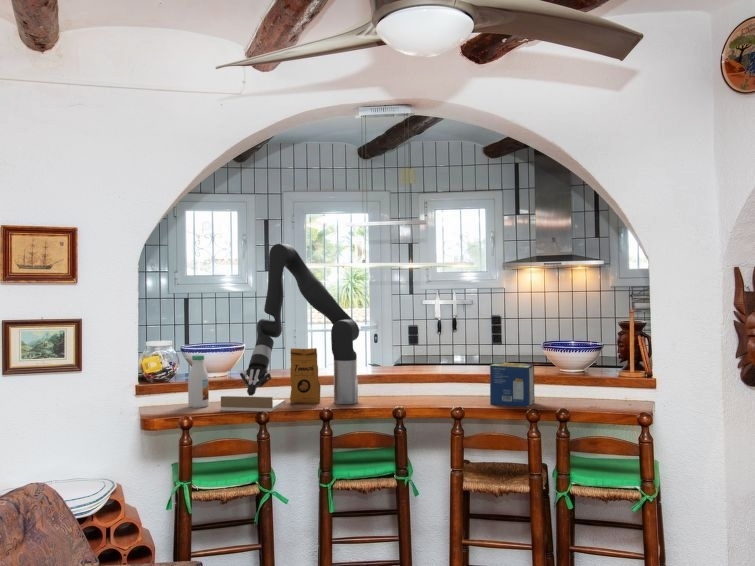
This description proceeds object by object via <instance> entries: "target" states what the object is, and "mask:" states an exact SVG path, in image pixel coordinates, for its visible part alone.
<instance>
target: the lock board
mask: <svg viewBox="0 0 755 566" xmlns="http://www.w3.org/2000/svg"><path fill="white" fill-rule="evenodd" d="M284 404H286V399H273V396H241V395H238V396H235V395H221V396H220V411H230V412H231V411H232V412H233V411H234V412H235V411H237V412H238V411H239V412H273V411H275V410H276V409H278V408H280V407H281V406H283V405H284Z"/></svg>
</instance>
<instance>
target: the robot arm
mask: <svg viewBox="0 0 755 566" xmlns="http://www.w3.org/2000/svg"><path fill="white" fill-rule="evenodd" d="M284 268H286V269H287V270H288V271H289V272H290V273H291V274H292V276H293V277H294V279H295V281H296V284H297V287H298V290H299V292H300V294H301V295H302V297H303V298H304V299H305V300H306V302H307V303H308V304H309V305H310V306H311V307H312V308H313V309H315V310H316V311H317V312H319V313H320V314H322V315H323V316H324V317H326V318H327V319H328V320H329V322H330V323H331V324H332V327H331V330H330V341H331V343H330V344H331V353H332V355H333V403H334V404H337V405H352V404H353V405H355V404H356V403H358V401H359V378H358V375H357V372H358V371H357V366H358V365H357V363H358V362H357V361H358V360H357V352H356V351H355V350H354V341H356V340H357V338H358V337H359V335H360V328H359V325H358V323H357V322H356V321H355V320H354V319H353V318H352V317H351V316H350V315H349V314H348V313H347V312H346V311H345V310H344V309H343V308H342V307H341V306H340V304H339V303H338V302H337V301H336V299H335V298H334V297H333V295H332V294H331V293H330V292H329V290H328V289H327V288H326V287H325V285H324V284H323V282H321V281H320V280H319V278H318V277H317V276H316V275H315V273H313V271H311V269H310V268H309V267H308V266H307V264H306V263H305V261H304V260H303V258H302V256H301V255H300V254H299V252H298V251H297V249H296V248H295V247H294V246H292V245H290V244H289V243H275V244H274V245H273V246H272V247H271V248H270V250H269V254H268V281H267V291H266V297H265V303H264V307H263V308H264V310H263V311H264V313H265V314H267V315H268V316H271V317H272V318H273V319H274V320H272V319H267V318H261V319H259V320H258V321H257V324H256V335H257V336H256V337H257V338H256V342H255V346H254V349H253V351H252V353H251V357H250V359H249V363H248V368H247V369H246V370H245V372H240V373H239V376H240V378H241V381H242V382H243V384H244V385H245V386H246V388H247V390H246V392H247V395H248V397H254V395H255V394H256V391H257V388H261V387H263V386H265V384H266V383H268V382H269V381H270V380H272V375H271V373H269V372H268V368H269V365H270V362H271V357H272V350H273V348H274V343H275V342H274V339H273V338H278V337H280V336H281V335H282V331H283V327H282V318H281V317H282V315H281V314H282V307H283V302H284V286H283V271H284ZM247 377H248V379H249V380H247Z"/></svg>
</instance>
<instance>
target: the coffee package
mask: <svg viewBox="0 0 755 566" xmlns="http://www.w3.org/2000/svg"><path fill="white" fill-rule="evenodd" d="M317 351H318V349H317V348H316V347H315V348H290V352H289V353H290V368H289V369H290V372H289V373H290V375H289V376H290V384H291V385H290V388H291V389H290V396H289V402H290V403H292V404H298V405H299V404H303V405H305V404H307V405H309V404H311V405H312V404H319V403H320V402H321V387H322V386H321V383H320V380H319V366H318V365H319V364H318V352H317Z"/></svg>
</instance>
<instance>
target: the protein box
mask: <svg viewBox="0 0 755 566" xmlns="http://www.w3.org/2000/svg"><path fill="white" fill-rule="evenodd" d="M489 381H490V382H489V390H490V392H489V404H490V405H492V404H494V405H495V406H504V405H505V406H504V407H507V406H508V407H517V406H529V407H531V406H532V405H533V404H535V403H536V402H535V364H534V363H516V362H515V363H513V362H498V361H497V362H495V363H492V364H490V365H489ZM530 405H531V406H530Z"/></svg>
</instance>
